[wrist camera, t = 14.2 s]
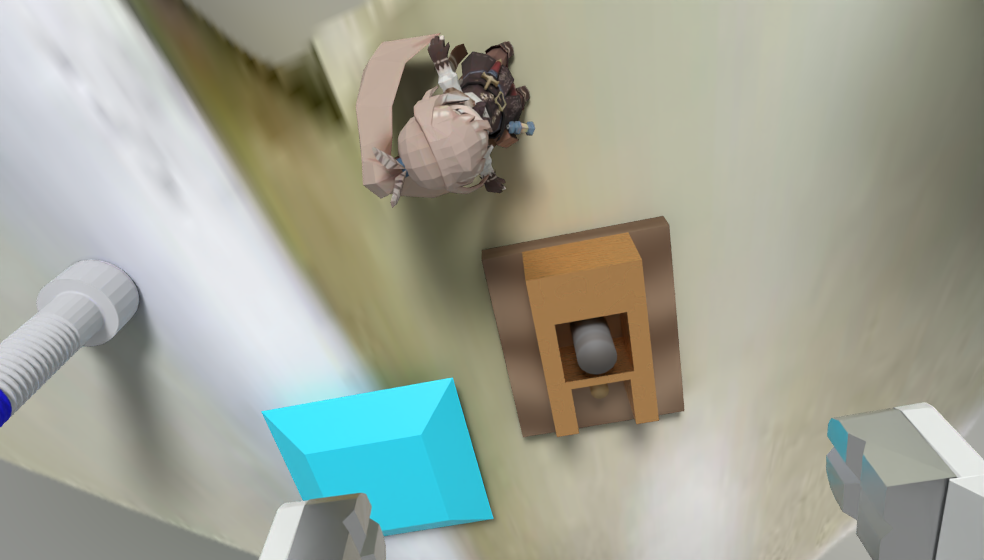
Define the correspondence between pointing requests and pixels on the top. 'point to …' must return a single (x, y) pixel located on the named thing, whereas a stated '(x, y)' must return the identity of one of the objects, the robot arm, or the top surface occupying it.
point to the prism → (387, 454)
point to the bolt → (64, 327)
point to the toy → (438, 120)
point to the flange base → (527, 339)
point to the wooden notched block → (589, 294)
